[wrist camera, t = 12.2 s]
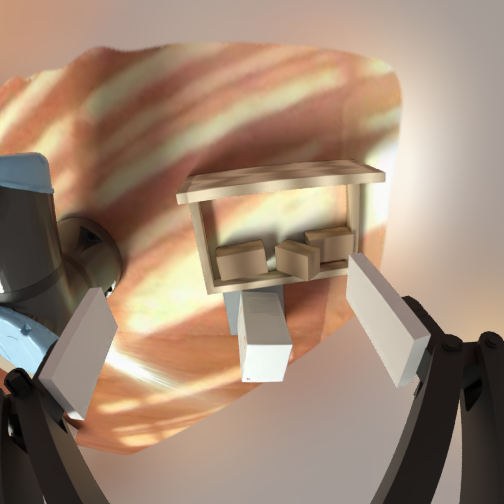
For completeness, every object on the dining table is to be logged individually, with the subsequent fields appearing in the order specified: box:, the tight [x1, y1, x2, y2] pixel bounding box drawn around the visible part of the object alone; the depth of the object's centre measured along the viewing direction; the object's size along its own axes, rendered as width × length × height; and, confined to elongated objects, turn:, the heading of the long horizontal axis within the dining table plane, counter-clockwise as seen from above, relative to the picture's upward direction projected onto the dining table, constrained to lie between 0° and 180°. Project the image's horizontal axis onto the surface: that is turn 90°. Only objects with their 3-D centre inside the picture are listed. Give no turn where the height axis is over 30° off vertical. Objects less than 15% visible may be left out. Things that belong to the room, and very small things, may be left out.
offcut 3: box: [304, 226, 354, 263], centre depth 45 cm, size 7×4×4 cm, turn 96°
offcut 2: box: [275, 239, 320, 281], centre depth 43 cm, size 6×4×3 cm
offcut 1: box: [216, 240, 268, 281], centre depth 44 cm, size 7×4×4 cm, turn 99°
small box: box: [237, 291, 293, 382], centre depth 44 cm, size 8×6×13 cm
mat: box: [223, 284, 285, 335], centre depth 50 cm, size 10×10×1 cm
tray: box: [176, 159, 385, 294], centre depth 40 cm, size 24×18×10 cm
